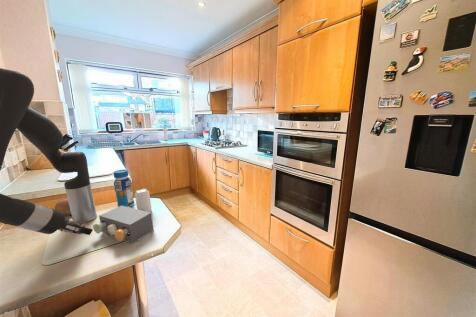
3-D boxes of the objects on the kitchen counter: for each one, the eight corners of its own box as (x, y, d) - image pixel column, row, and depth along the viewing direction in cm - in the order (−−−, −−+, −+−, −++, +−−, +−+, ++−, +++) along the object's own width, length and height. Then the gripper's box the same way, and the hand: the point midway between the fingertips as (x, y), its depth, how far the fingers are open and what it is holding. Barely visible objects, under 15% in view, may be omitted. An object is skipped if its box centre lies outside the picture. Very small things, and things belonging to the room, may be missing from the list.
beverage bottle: (115, 205, 108) (109, 171, 104) (131, 200, 115) (126, 168, 110) (120, 210, 103) (114, 174, 99) (137, 204, 109) (131, 170, 105)
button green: (94, 232, 79) (92, 223, 78) (106, 226, 83) (104, 217, 83) (100, 234, 78) (98, 225, 77) (112, 228, 82) (110, 219, 81)
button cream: (108, 233, 78) (106, 224, 77) (119, 227, 82) (118, 218, 81) (114, 235, 76) (113, 226, 75) (126, 229, 81) (124, 220, 80)
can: (146, 215, 96) (143, 193, 94) (135, 214, 98) (131, 192, 95) (154, 209, 102) (151, 188, 100) (143, 208, 104) (140, 187, 101)
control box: (102, 232, 83) (99, 215, 81) (124, 221, 92) (121, 205, 90) (132, 243, 75) (129, 224, 74) (153, 229, 84) (151, 212, 82)
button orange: (114, 239, 74) (113, 230, 73) (126, 232, 78) (125, 223, 77) (121, 242, 72) (120, 232, 71) (133, 234, 77) (132, 225, 76)
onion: (74, 215, 105) (77, 197, 107) (81, 215, 100) (83, 195, 102) (50, 217, 97) (54, 196, 100) (56, 216, 92) (60, 195, 95)
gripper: (60, 211, 62) (106, 225, 75) (40, 204, 67) (86, 219, 81) (42, 235, 58) (94, 246, 72) (22, 226, 63) (74, 237, 77)
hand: (90, 232), depth 76 cm, fingers closed
